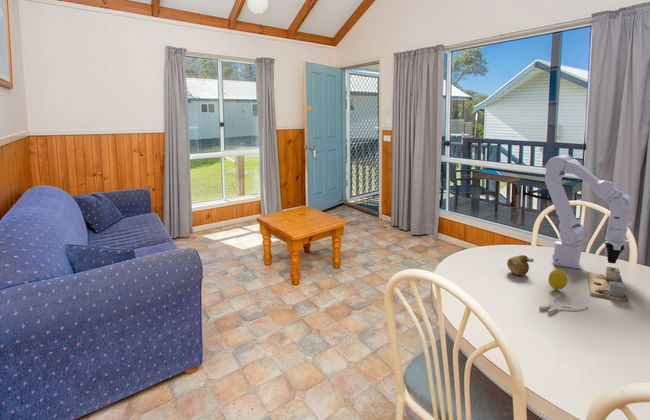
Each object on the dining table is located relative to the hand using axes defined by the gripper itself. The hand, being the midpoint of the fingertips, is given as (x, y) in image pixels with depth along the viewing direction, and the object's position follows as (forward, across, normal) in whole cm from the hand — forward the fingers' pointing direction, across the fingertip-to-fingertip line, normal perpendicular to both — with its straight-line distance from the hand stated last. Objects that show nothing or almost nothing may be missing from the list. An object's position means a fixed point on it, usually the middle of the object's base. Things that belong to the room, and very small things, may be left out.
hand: (611, 262), depth 148 cm
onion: (+5, -14, +30) cm, 34 cm away
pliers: (+6, -36, +16) cm, 40 cm away
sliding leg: (+4, -6, +2) cm, 8 cm away
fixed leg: (+4, -20, +2) cm, 21 cm away
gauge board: (+5, -12, +2) cm, 14 cm away
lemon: (+5, -24, +17) cm, 30 cm away
